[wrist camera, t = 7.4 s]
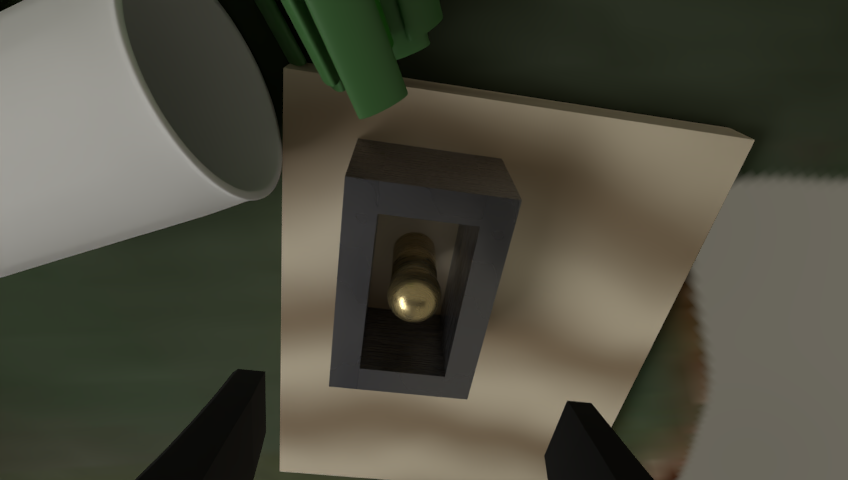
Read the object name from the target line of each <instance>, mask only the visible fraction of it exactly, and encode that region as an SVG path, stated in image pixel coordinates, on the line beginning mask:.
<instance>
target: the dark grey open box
mask: <svg viewBox="0 0 848 480" xmlns="http://www.w3.org/2000/svg"><path fill="white" fill-rule="evenodd" d="M521 202H522V199H521V197H520V195H519V193H518V191H517V189H516V187H515V185H514V182H513V180H512V178H511V176H510V174H509V172H508V170H507V168H506V166H505V164H504V162H503V160H502V159H500V158H493V157H486V156H479V155H472V154H465V153H458V152H451V151H444V150H437V149H430V148H423V147H415V146H408V145H401V144H394V143H387V142H380V141H373V140H366V139H359V138H358V140H357V143H356V145H355V148H354V151H353V154H352V157H351V160H350V163H349V166H348V169H347V172H346V175H345V181H344V194H343V207H342V220H341V233H340V247H339V260H338V273H337V286H336V299H335V312H334V325H333V338H332V351H331V365H330V378H329V387H339V388H349V389H360V390H370V391H381V392H392V393H402V394H413V395H424V396H434V397H445V398H456V399H466V400H467V399H468V395H469V392H470V388H471V384H472V381H473V377H474V373H475V370H476V366H477V362H478V359H479V355H480V352H481V348H482V344H483V341H484V337H485V333H486V330H487V326H488V322H489V319H490V315H491V312H492V308H493V304H494V301H495V297H496V293H497V290H498V286H499V282H500V279H501V275H502V271H503V268H504V264H505V261H506V257H507V253H508V250H509V246H510V242H511V239H512V235H513V231H514V228H515V224H516V221H517V217H518V213H519V210H520V206H521ZM379 214H384V215H391V216H399V217H407V218H415V219H423V220H431V221H438V222H446V223H454V224H459V227H458V232H457V237H456V242H455V246H454V251H453V256H452V261H451V265H450V270H449V275H448V279H447V284H446V289H445V294H444V298H443V303H442V308H441V313H440V315H437V314H433V315H432V316H431V317H430V318H428V319H426V320H424V321H421V322H407V321H404V320H402V319H400V318H399V317H397V316H396V315H395V314H394V313H393V312H392V310H391V309H382V308H373V307H368V303H369V294H370V286H371V277H372V269H373V260H374V252H375V243H376V235H377V226H378V218H379Z"/></svg>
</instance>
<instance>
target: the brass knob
mask: <svg viewBox="0 0 848 480" xmlns="http://www.w3.org/2000/svg"><path fill="white" fill-rule="evenodd" d="M387 300H388V304H389V306H390V308H391V310H392V312H393V313H394V314H395V315H396V316H397V317H399V318H400V319H402V320H404V321H407V322H421V321H424V320H426V319H428V318H430V317H431V316H432V315H433V314H434V313H435V312H436V311H437V309H438V307H439V305H440V302H441V288H440V285H439V282H438V281H437V269H436V256H435V246H434V243H433V242H432V240H431V239H430V238H429V237H428V236H426V235H424V234H422V233H418V232H410V233H406V234H404V235H402V236H401V237H399V238H398V239H397V241H396V242H395V244H394V248H393V261H392V274H391V282H390V284H389V286H388V290H387Z"/></svg>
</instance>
